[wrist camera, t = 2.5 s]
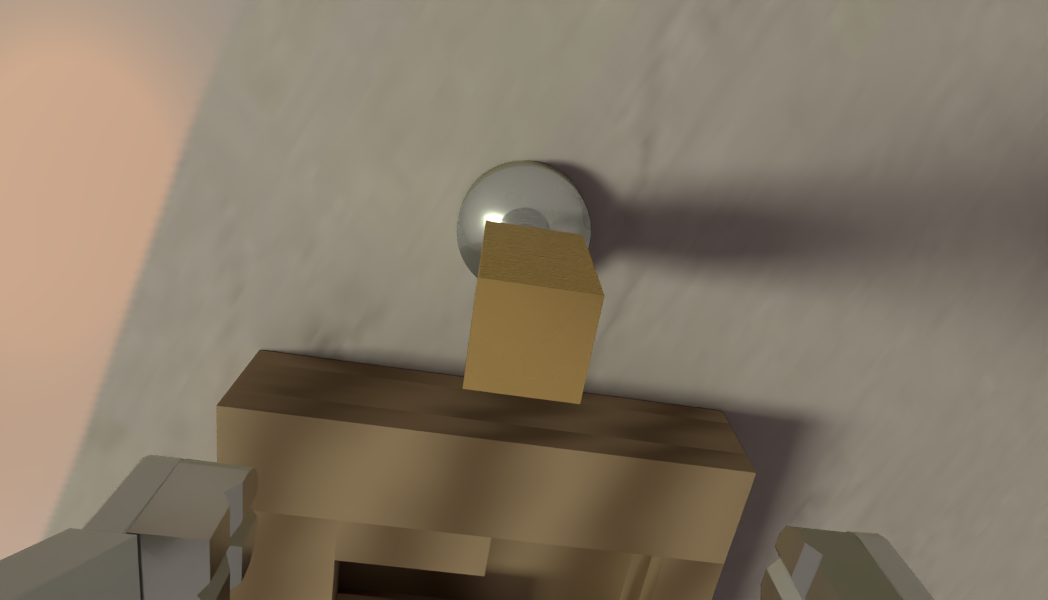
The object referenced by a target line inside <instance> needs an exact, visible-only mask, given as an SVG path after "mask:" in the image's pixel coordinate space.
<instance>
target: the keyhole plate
mask: <svg viewBox="0 0 1048 600" xmlns="http://www.w3.org/2000/svg"><path fill="white" fill-rule="evenodd" d="M463 382H464V377H460V376H453V375H445V374H438V373H430V372H422V371H415V370H407V369H400V368H392V367H384V366H377V365H369V364H362V363H354V362H347V361H339V360H331V359H324V358H316V357H309V356H301V355H293V354H286V353H278V352H271V351H263V350H259V351H258V353H257V354H256V355H255V357H254V358H253V359H252V360H251V362H250V363H249V364H248V366H247V367H246V368H245V370H244V371H243V372H242V373H241V375H240V376H239V377H238V379H237V380H236V381H235V382H234V384H233V385H232V386H231V388H230V389H229V390H228V391H227V393H226V394H225V395H224V397H223V398H222V399H221V401H220V402H219V403H218V404H217V463H223V464H231V465H238V466H246V467H254V468H255V470H256V471H257V473H258V492H257V494H256V496H255V498H254V500H253V502H252V504H251V506H250V507H251V509H252V510H253V511H254V513H255V514H256V515H257V532H256V539H255V546H254V550H253V553H252V556H251V560H250V563H249V567H248V569H247V571H246V573H245V576H244V578H243V580H242V583H240V584H239V585H237V586H236V587H234V588H233V589H231V590H230V600H712V597H713V594H714V591H715V588H716V586H717V583H718V580H719V577H720V574H721V571H722V569H723V566H724V563H725V560H726V557H727V555H728V552H729V549H730V546H731V543H732V540H733V538H734V535H735V532H736V529H737V526H738V524H739V521H740V518H741V515H742V512H743V509H744V507H745V504H746V501H747V498H748V495H749V493H750V490H751V487H752V484H753V481H754V478H755V476H756V471H755V470H754V468H753V466H752V464H751V462H750V460H749V459H748V457H747V455H746V453H745V451H744V450H743V448H742V446H741V444H740V442H739V441H738V439H737V437H736V435H735V433H734V432H733V430H732V428H731V426H730V424H729V423H728V421H727V419H726V417H725V415H724V414H723V412H722V411H718V410H711V409H703V408H695V407H688V406H680V405H673V404H665V403H658V402H650V401H642V400H635V399H627V398H620V397H612V396H604V395H597V394H589V393H583V394H582V398H581V403H580V404H575V403H567V402H560V401H552V400H544V399H537V398H529V397H521V396H514V395H506V394H498V393H491V392H483V391H476V390H468V389H463Z"/></svg>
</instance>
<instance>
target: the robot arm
mask: <svg viewBox="0 0 1048 600" xmlns="http://www.w3.org/2000/svg"><path fill="white" fill-rule="evenodd" d="M257 492H258V473H257V471H256V470H255V468H254V467H246V466H238V465H231V464H223V463H216V462H208V461H200V460H193V459H182V458H175V457H166V456H158V455H148V456H146V457H144V458H142V459H141V460H140V461H139V462H138V463H137V464H136V465H135V467H134V468H133V469H132V470H131V471H130V472H129V474H128V475H127V476H126V477H125V478H124V480H123V481H122V482H121V483H120V484H119V485H118V487H117V488H116V489H115V490H114V491H113V493H112V494H111V495H110V496H109V497H108V498H107V500H106V501H105V502H104V503H103V504H102V506H101V507H100V508H99V509H98V510H97V511H96V513H95V514H94V515H93V516H92V517H91V518H90V520H89V521H88V522H87V523H86V524H85V526H84V527H83V528H82V529H72V528H69V529H67V530H65V531H63V532H61V533H59V534H56V535H54V536H52V537H50V538H48V539H46V540H43V541H41V542H39V543H37V544H35V545H33V546H30V547H28V548H26V549H24V550H22V551H20V552H17V553H15V554H13V555H11V556H9V557H6V558H4V559H2V560H0V600H230V590H231V589H233V588H234V587H236V586H237V585H239V584H240V583H242V580H243V578H244V576H245V573H246V571H247V569H248V567H249V563H250V560H251V556H252V553H253V550H254V546H255V539H256V532H257V515H256V514H255V513H254V511H253V510H252V509H251V507H250V506H251V504H252V502H253V500H254V498H255V496H256V494H257ZM775 548H776V550H777V552H778V555H779V557H780V558H779V559H778V560H776V561H775V562H774V563H772V564H771V565H770V566H769V567H767V568H766V571H765V574H764V577H763V580H762V583H761V600H934V599H933V597H932V596H931V595H930V593H929V592H928V591H927V590H926V588H925V587H924V586H923V584H922V583H921V582H920V581H919V579H918V578H917V577H916V576H915V574H914V573H913V572H912V570H911V569H910V568H909V567H908V565H907V564H906V563H905V562H904V560H903V559H902V558H901V556H900V555H899V554H898V553H897V551H896V550H895V549H894V547H893V546H892V545H891V544H890V542H889V541H888V540H887V539H886V538H884V537H882V536H881V535H879V534H875V533H863V532H850V531H847V532H839V531H830V530H820V529H810V528H801V527H791V526H786V527H785V528H784V529H783V530H782V531H781V532H780V534H779V537H778V539H777V542H776V544H775Z"/></svg>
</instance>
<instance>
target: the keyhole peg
mask: <svg viewBox="0 0 1048 600" xmlns="http://www.w3.org/2000/svg"><path fill="white" fill-rule="evenodd" d="M590 237H591V225H590V218H589V214H588V211H587V208H586V206H585V204H584V201H583V199H582V197H581V194H580V193H579V191H578V189H577V188H576V186H575V185H574V184H573V183H572V182H571V180H569V179H568V178H567V177H566V176H565V175H564V174H563V173H561V172H560V171H558V170H557V169H555V168H553V167H551V166H548V165H546V164H543V163H539V162H535V161H513V162H508V163H504V164H501V165H499V166H496V167H494V168H492V169H490V170H489V171H487V172H486V173H484V174H483V175H482V176H481V177H480V178H478V179H477V180H476V182H475V183H474V184H473V185H472V186H471V188H470V189H469V191H468V192H467V194H466V196H465V198H464V200H463V203H462V206H461V210H460V213H459V218H458V223H457V241H458V246H459V250H460V253H461V255H462V258H463V260H464V262H465V263H466V265H467V267H468V268H469V269H470V271H471V272H472V273H473V274H474V275H475V276H476V277H477V285H476V292H475V299H474V305H473V313H472V320H471V328H470V336H469V343H468V351H467V359H466V366H465V374H464V382H463V389H468V390H476V391H483V392H491V393H498V394H506V395H514V396H521V397H529V398H537V399H544V400H552V401H560V402H567V403H575V404H580V403H581V398H582V394H583V389H584V385H585V380H586V376H587V371H588V367H589V362H590V358H591V354H592V349H593V345H594V340H595V336H596V331H597V327H598V322H599V318H600V313H601V309H602V304H603V300H604V293H603V290H602V287H601V285H600V282H599V279H598V276H597V273H596V270H595V268H594V265H593V262H592V259H591V256H590V254H589V251H588V248H589V244H590Z"/></svg>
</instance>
